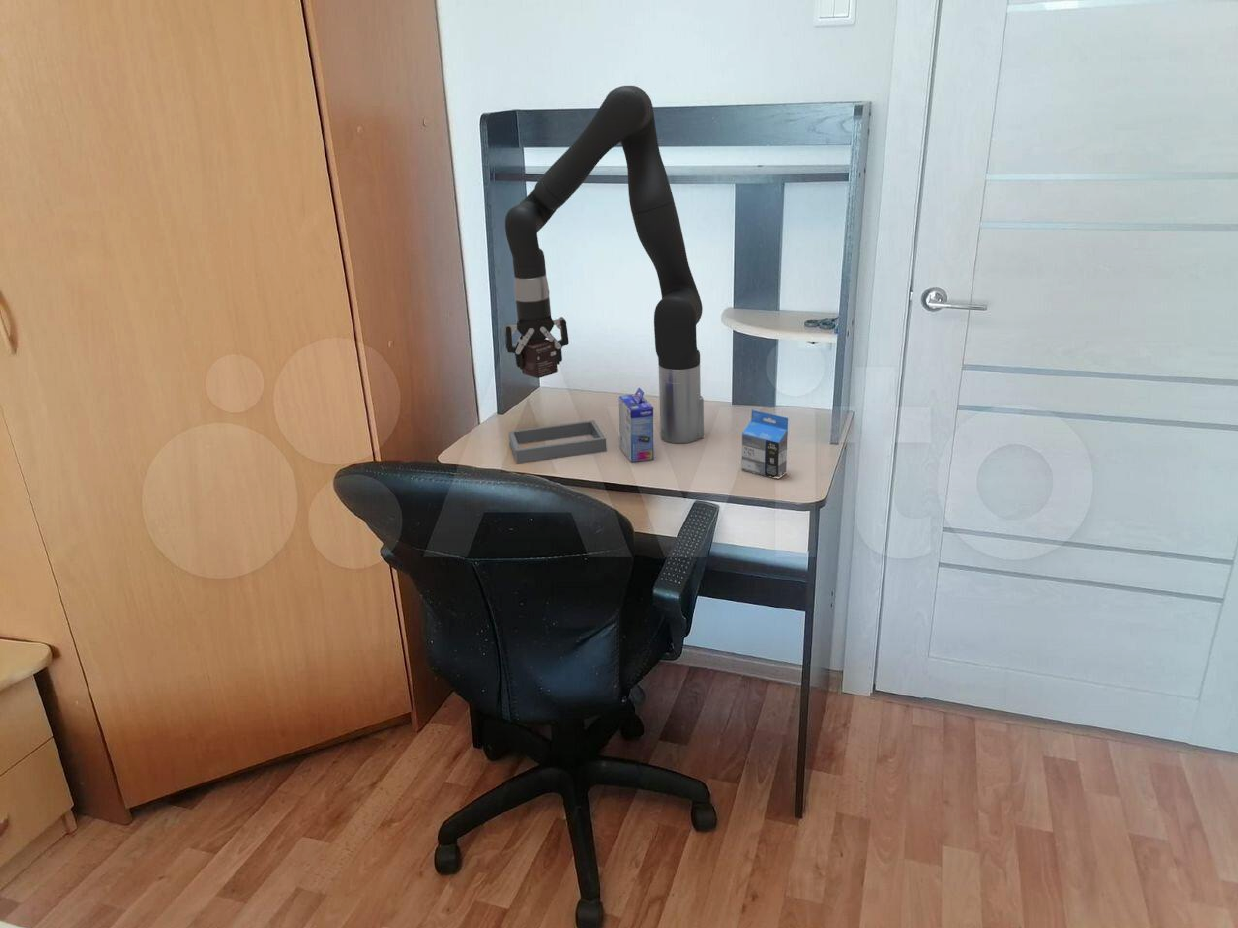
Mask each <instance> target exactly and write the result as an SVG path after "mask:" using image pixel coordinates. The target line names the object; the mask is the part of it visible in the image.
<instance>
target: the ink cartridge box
mask: <svg viewBox="0 0 1238 928" xmlns="http://www.w3.org/2000/svg"><path fill="white" fill-rule="evenodd" d="M644 394H645V392H644V391H643V390H642V389H641V387H638V388H637V390H636V392H635V393H634V394H627V395H620V396H618V445H619V446H618V447H619V448H620V450H621V451H622V452H623V454H624V455H625V456H626V457H627V459H628V461H629V462H630V463H633V462H634V463H635V462H645V461H653V460H654V457H655V456H654V407H653V406H652V405H651V404H650V402H648V400H647V399H646V398H645V397H644Z"/></svg>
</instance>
